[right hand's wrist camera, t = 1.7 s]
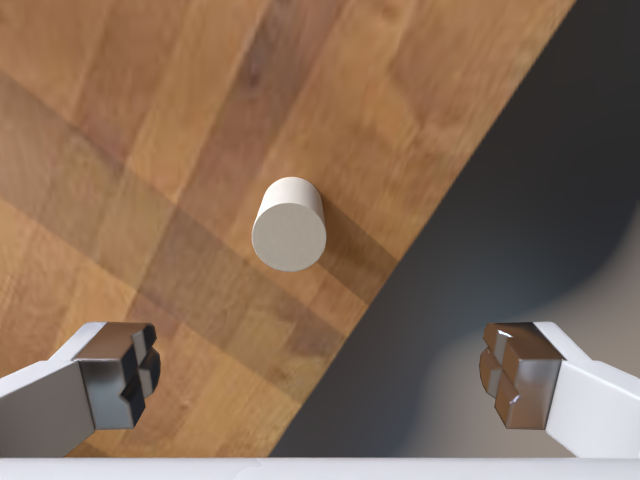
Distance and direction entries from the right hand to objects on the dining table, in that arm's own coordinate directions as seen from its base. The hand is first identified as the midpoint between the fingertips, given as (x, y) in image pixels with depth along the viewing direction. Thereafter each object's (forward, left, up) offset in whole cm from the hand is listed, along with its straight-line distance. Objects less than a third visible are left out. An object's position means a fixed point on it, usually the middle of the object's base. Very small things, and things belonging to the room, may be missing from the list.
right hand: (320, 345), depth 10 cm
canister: (+3, -4, -27) cm, 27 cm away
